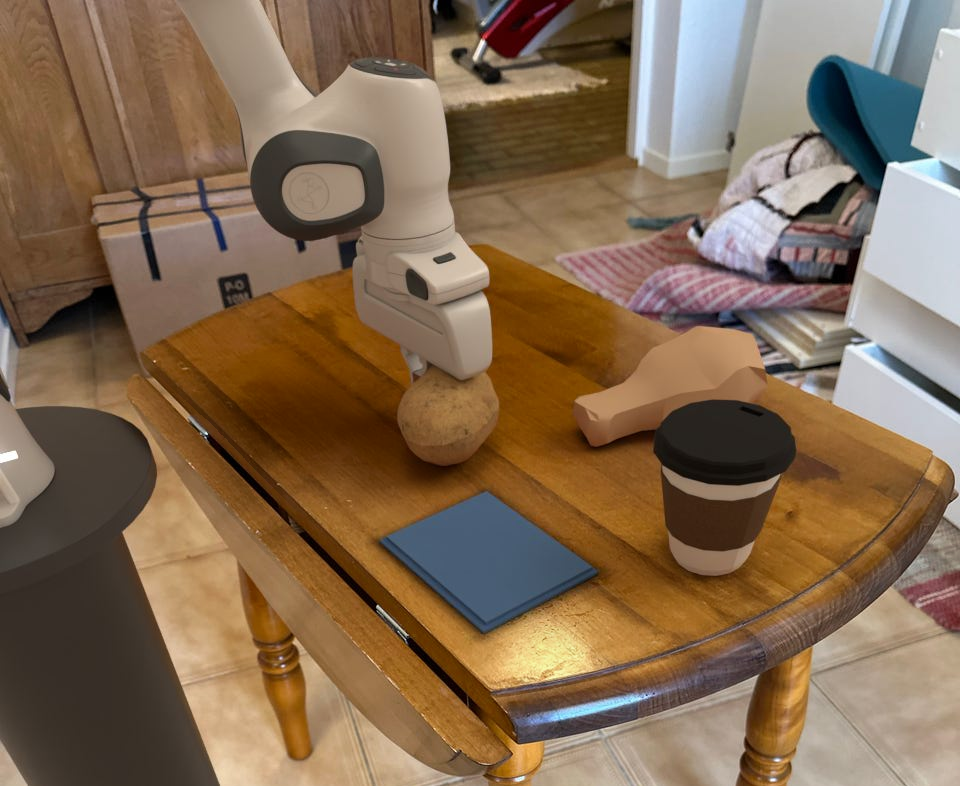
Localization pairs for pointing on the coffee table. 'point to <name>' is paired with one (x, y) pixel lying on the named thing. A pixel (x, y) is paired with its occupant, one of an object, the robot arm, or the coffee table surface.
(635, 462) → the coffee table surface
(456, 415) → the potato
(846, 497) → the coffee table surface
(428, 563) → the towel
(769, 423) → the coffee cup
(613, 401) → the squash
